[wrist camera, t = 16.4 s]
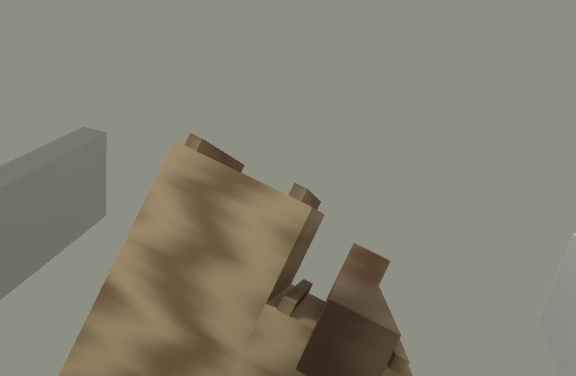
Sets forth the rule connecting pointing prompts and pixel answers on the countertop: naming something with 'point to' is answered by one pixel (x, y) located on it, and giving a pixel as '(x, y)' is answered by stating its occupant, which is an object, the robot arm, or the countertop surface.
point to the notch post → (208, 279)
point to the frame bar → (353, 322)
